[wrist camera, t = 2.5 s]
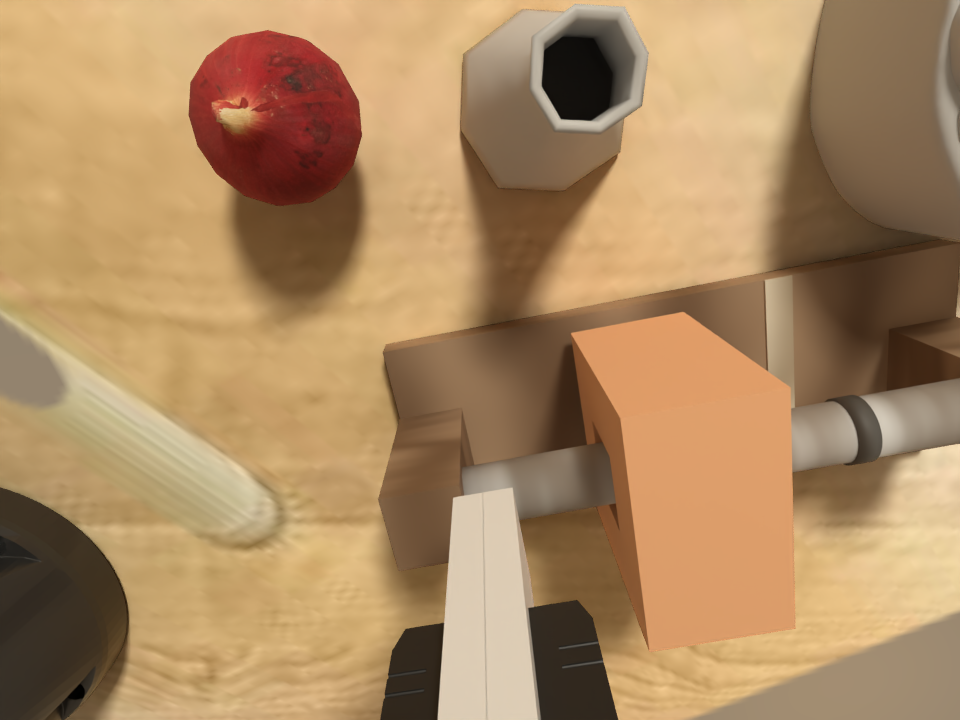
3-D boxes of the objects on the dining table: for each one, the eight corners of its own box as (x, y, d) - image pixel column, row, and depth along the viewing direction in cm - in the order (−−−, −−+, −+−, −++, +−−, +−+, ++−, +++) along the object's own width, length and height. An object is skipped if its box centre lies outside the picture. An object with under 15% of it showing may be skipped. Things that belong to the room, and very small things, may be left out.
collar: (596, 506, 29) (649, 651, 20) (570, 333, 26) (620, 418, 17) (697, 488, 28) (795, 628, 20) (683, 311, 26) (790, 387, 17)
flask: (642, 167, 26) (744, 171, 16) (483, 213, 26) (491, 244, 17) (609, -17, 23) (705, -138, 14) (435, 38, 24) (413, -43, 14)
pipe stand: (431, 520, 31) (418, 640, 23) (386, 344, 28) (354, 415, 20) (927, 433, 30) (1088, 529, 22) (940, 239, 27) (1132, 271, 19)
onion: (325, 22, 23) (257, -43, 16) (400, 155, 25) (371, 152, 18) (209, 99, 24) (91, 71, 17) (289, 222, 26) (215, 248, 18)
